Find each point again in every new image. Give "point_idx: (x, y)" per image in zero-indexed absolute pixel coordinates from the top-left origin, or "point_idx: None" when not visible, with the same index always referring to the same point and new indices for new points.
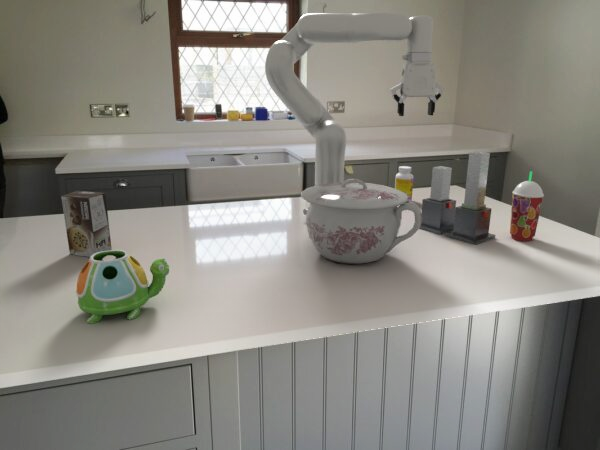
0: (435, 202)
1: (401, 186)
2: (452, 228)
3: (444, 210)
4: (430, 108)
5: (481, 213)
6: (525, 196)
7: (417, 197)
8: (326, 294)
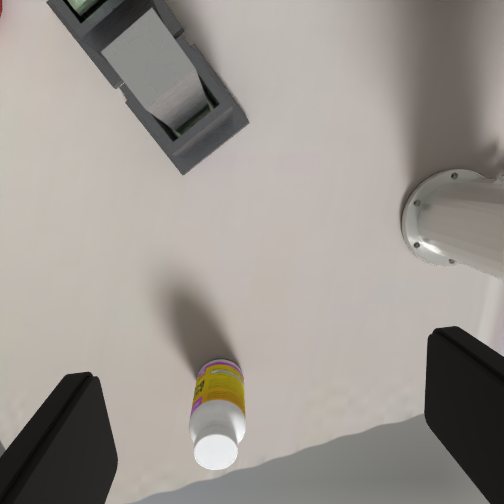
0: (198, 58)
1: (231, 387)
2: None
3: None
4: (67, 459)
5: None
6: None
7: (174, 409)
8: None
